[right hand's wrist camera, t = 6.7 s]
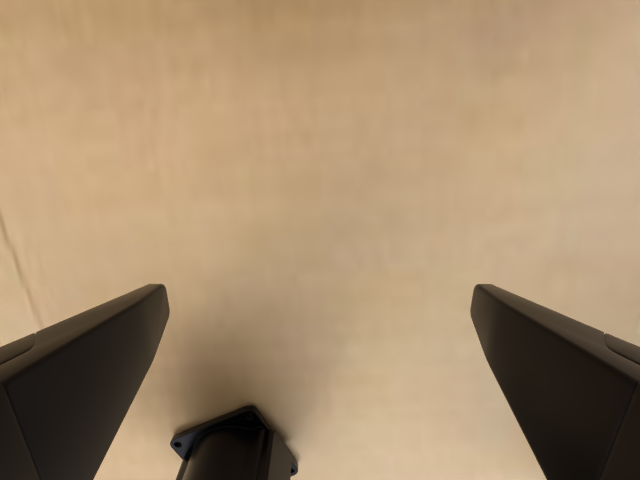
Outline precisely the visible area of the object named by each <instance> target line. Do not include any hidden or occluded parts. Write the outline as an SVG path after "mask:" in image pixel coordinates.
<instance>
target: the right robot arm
mask: <svg viewBox="0 0 640 480" xmlns="http://www.w3.org/2000/svg"><path fill="white" fill-rule="evenodd" d="M169 312H170V311H169V303H168V298H167V292H166V288H165V286H164V285H163V284H149V285H146V286H144V287H141V288H139V289H137V290H134V291H132V292H130V293H127V294H125V295H123V296H120V297H118V298H115V299H113V300H111V301H108V302H106V303H104V304H101V305H99V306H97V307H94V308H92V309H90V310H87V311H85V312H83V313H80V314H78V315H75V316H73V317H71V318H68V319H66V320H64V321H61V322H59V323H57V324H54V325H52V326H50V327H47V328H45V329H43V330H40V331H38V332H36V334H35V333H33V334H31V335H28V336H26V337H24V338H21V339H19V340H16V341H14V342H12V343H9V344H7V345H4V346H2V347H0V480H93V479H94V477H95V475H96V473H97V471H98V469H99V467H100V465H101V463H102V461H103V459H104V457H105V455H106V453H107V451H108V449H109V447H110V445H111V443H112V441H113V439H114V437H115V435H116V433H117V431H118V429H119V427H120V425H121V423H122V421H123V419H124V417H125V415H126V413H127V411H128V409H129V407H130V405H131V403H132V401H133V399H134V397H135V395H136V393H137V391H138V389H139V388H140V386H141V384H142V382H143V380H144V378H145V376H146V374H147V372H148V370H149V368H150V366H151V363H152V361H153V359H154V356H155V354H156V351H157V348H158V346H159V343H160V340H161V337H162V335H163V332H164V329H165V326H166V323H167V321H168V318H169ZM470 312H471V318H472V321H473V323H474V326H475V329H476V332H477V335H478V337H479V340H480V343H481V346H482V348H483V351H484V354H485V356H486V359H487V361H488V363H489V366H490V368H491V370H492V372H493V374H494V376H495V378H496V380H497V382H498V384H499V386H500V388H501V389H502V391H503V393H504V395H505V397H506V399H507V401H508V403H509V405H510V407H511V409H512V411H513V413H514V415H515V417H516V419H517V421H518V423H519V425H520V427H521V429H522V431H523V433H524V435H525V437H526V439H527V441H528V443H529V445H530V447H531V449H532V451H533V453H534V455H535V457H536V459H537V461H538V463H539V465H540V467H541V469H542V471H543V473H544V475H545V477H546V479H547V480H640V347H638V346H636V345H633V344H631V343H628V342H626V341H624V340H621V339H619V338H616V337H614V336H612V335H609V334H607V333H605V334H604V332H602V331H600V330H597V329H595V328H593V327H590V326H588V325H586V324H583V323H581V322H579V321H576V320H574V319H572V318H569V317H567V316H565V315H562V314H560V313H557V312H555V311H553V310H550V309H548V308H546V307H543V306H541V305H539V304H536V303H534V302H532V301H529V300H527V299H524V298H522V297H520V296H517V295H515V294H513V293H510V292H508V291H506V290H503V289H501V288H499V287H496V286H494V285H491V284H477V285H476V286H475V288H474V292H473V298H472V303H471V311H470ZM248 413H250V414H248ZM170 445H171V447H172V448H173V449H174V450H175V451H176V453H177V454H178V455H179V456H180V457H181V458H182V459H183V462H182V464H181V467H180V470H179V473H178V475H177V478H176V480H290V476H293V475H295V474H297V472H298V463H297V462H296V460H295V459H294V458H293V456H292V453H291V452H290V450H289V449H288V448H287V446H286V445H285V444H284V442H283V441H282V440H281V438H280V437H279V436H278V434H277V433H276V431H274V430H273V429H272V428H271V427H270V425H269V424H268V423H267V421H266V420H265V419H264V417H263V416H262V414H261V413H260V412H259V410H258V409H257V408H256V407H254V406H246V407H243V408H241V409H238V410H236V411H233V412H231V413H228V414H226V415H223V416H221V417H218V418H216V419H213V420H211V421H208V422H206V423H203V424H201V425H198V426H196V427H193V428H191V429H188V430H186V431H183V432H181V433H178V434H176V435H174V436H173V438H172V440H171V443H170Z"/></svg>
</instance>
